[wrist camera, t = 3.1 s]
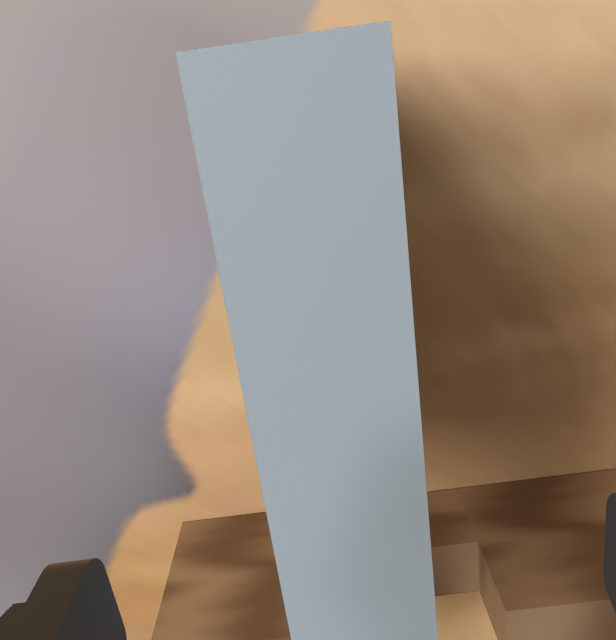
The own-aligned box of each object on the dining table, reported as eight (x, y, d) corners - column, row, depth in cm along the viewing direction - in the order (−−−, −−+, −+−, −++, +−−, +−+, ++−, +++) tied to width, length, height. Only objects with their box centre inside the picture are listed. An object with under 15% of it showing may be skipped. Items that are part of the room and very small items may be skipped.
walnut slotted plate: (193, 565, 33) (163, 703, 25) (182, 522, 32) (147, 653, 24) (628, 512, 32) (729, 639, 25) (631, 466, 31) (737, 584, 24)
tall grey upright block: (297, 417, 30) (297, 670, 17) (241, 75, 24) (175, 52, 11) (375, 406, 30) (439, 654, 16) (339, 61, 24) (391, 20, 11)
